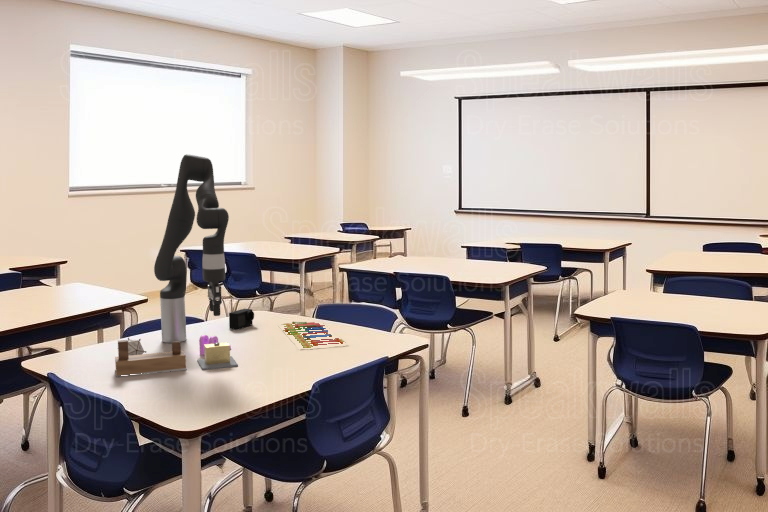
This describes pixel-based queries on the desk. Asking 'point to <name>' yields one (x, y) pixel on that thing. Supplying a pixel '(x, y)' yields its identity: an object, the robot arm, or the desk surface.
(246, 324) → the digital camera
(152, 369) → the plane body
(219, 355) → the lever cap
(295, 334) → the gear board
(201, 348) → the bracket
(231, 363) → the mat
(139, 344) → the game die
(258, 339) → the desk surface
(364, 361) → the desk surface
